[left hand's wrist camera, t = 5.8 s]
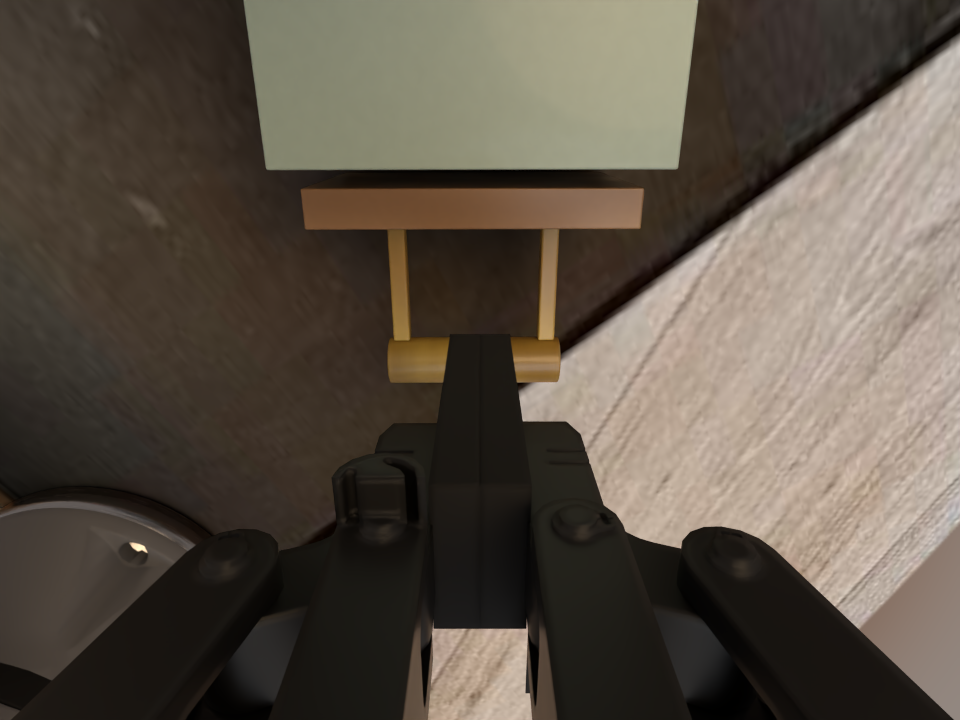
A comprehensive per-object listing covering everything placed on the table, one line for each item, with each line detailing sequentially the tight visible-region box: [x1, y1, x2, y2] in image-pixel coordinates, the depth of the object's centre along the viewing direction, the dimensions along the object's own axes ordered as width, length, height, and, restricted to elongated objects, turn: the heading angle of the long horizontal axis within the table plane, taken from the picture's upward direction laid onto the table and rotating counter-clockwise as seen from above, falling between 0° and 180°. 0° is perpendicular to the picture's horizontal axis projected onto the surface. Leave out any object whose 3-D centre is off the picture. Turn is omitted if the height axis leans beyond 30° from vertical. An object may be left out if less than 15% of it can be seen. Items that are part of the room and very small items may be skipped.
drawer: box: [301, 172, 644, 383], centre depth 18 cm, size 23×10×6 cm, turn 0°
